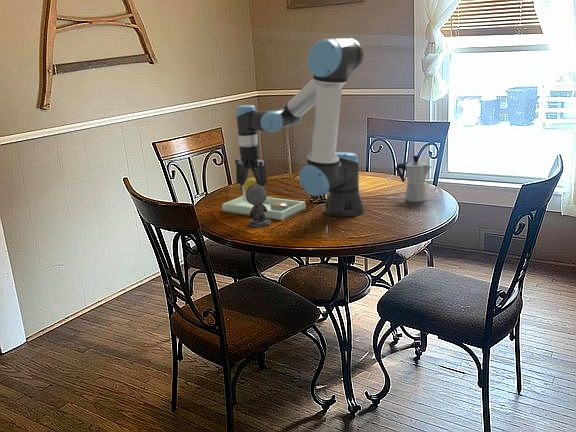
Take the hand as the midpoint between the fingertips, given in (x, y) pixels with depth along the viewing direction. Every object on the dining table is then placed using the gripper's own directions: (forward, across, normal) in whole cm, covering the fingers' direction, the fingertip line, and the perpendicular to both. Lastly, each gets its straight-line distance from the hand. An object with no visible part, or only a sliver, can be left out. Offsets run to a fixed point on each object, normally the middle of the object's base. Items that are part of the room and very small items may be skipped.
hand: (253, 201), depth 236 cm
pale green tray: (+3, -5, 0) cm, 6 cm away
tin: (+2, -13, 0) cm, 13 cm away
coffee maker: (+3, -53, -36) cm, 65 cm away
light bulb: (0, 0, 0) cm, 1 cm away
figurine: (+3, -15, +15) cm, 21 cm away
